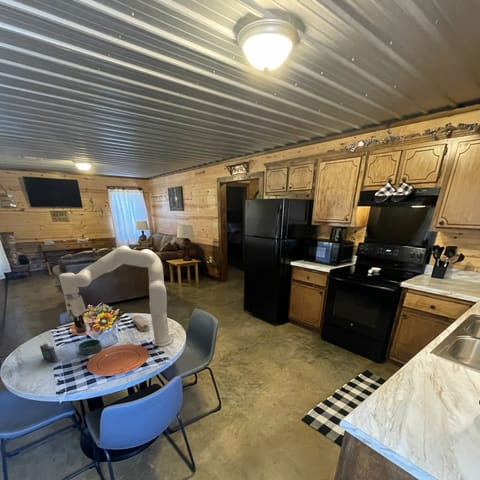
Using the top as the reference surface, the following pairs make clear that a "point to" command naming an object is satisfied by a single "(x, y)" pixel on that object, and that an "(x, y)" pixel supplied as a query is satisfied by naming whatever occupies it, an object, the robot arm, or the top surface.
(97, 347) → the bowl
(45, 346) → the flask
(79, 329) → the brush
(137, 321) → the shoe brush
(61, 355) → the top surface
